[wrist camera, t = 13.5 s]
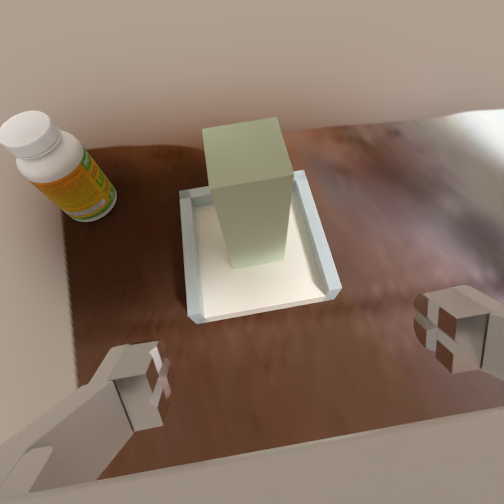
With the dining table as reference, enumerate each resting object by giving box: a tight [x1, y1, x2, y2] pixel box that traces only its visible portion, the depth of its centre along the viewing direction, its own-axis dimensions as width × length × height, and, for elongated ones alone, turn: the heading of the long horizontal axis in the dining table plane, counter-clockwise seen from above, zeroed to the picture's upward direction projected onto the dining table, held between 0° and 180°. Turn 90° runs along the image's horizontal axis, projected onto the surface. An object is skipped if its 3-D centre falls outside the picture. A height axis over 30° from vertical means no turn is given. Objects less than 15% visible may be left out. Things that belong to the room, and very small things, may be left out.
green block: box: [202, 117, 294, 269], centre depth 21 cm, size 4×4×11 cm
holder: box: [179, 170, 342, 324], centre depth 26 cm, size 12×12×3 cm
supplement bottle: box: [0, 111, 117, 222], centre depth 26 cm, size 5×5×10 cm
